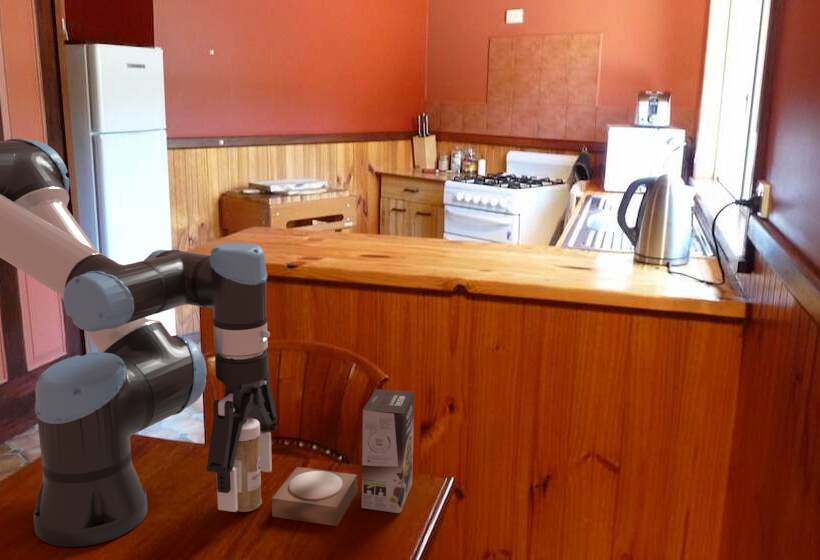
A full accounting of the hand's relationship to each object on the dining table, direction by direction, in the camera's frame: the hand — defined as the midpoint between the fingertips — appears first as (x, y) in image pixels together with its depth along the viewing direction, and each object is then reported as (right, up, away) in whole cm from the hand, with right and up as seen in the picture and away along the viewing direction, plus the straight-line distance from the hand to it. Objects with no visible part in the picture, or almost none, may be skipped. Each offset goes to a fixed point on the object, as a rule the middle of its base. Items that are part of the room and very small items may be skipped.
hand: (246, 489), depth 111 cm
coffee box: (+21, -3, +4) cm, 22 cm away
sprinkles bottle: (0, -3, +1) cm, 3 cm away
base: (+10, -3, +1) cm, 11 cm away
